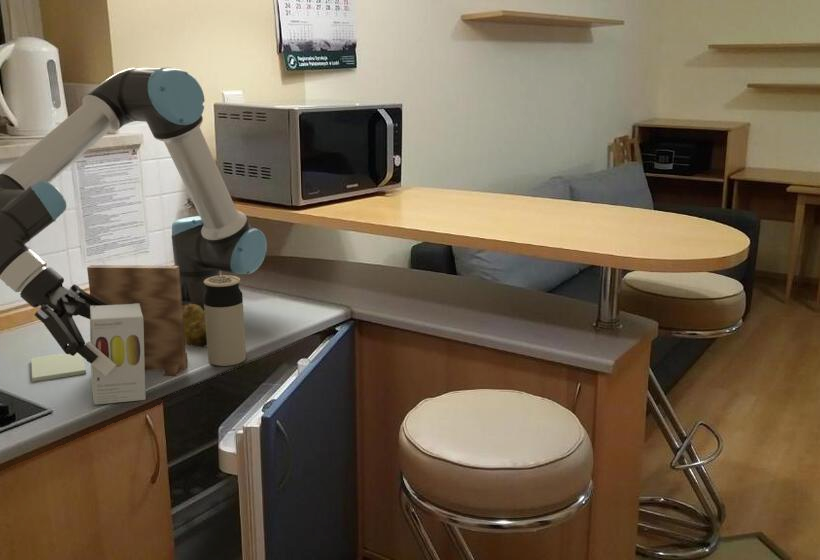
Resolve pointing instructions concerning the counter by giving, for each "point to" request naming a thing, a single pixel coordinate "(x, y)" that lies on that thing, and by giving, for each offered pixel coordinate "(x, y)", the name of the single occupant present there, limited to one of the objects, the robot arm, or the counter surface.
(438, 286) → the counter surface
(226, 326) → the travel mug
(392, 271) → the counter surface
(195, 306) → the potato
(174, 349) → the screen
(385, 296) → the counter surface
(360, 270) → the counter surface
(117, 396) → the supplement box
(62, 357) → the sticky note pad
